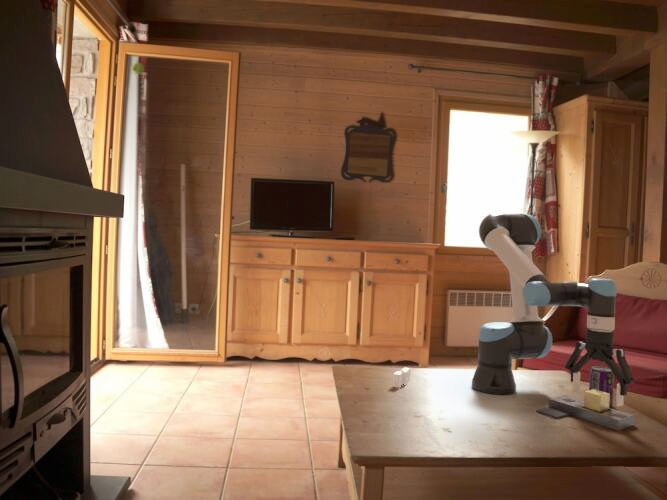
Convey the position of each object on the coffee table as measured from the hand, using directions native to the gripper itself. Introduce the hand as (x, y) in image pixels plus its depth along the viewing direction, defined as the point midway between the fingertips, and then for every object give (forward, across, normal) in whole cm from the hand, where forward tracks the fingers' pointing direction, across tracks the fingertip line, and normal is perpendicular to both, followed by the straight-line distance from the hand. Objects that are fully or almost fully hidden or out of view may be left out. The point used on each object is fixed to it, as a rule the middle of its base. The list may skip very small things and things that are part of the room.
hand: (597, 399), depth 159 cm
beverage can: (+6, -7, +15) cm, 18 cm away
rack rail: (+6, -2, 0) cm, 6 cm away
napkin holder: (+6, -56, -30) cm, 64 cm away
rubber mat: (+6, -9, -8) cm, 13 cm away
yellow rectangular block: (+6, 0, 0) cm, 6 cm away
